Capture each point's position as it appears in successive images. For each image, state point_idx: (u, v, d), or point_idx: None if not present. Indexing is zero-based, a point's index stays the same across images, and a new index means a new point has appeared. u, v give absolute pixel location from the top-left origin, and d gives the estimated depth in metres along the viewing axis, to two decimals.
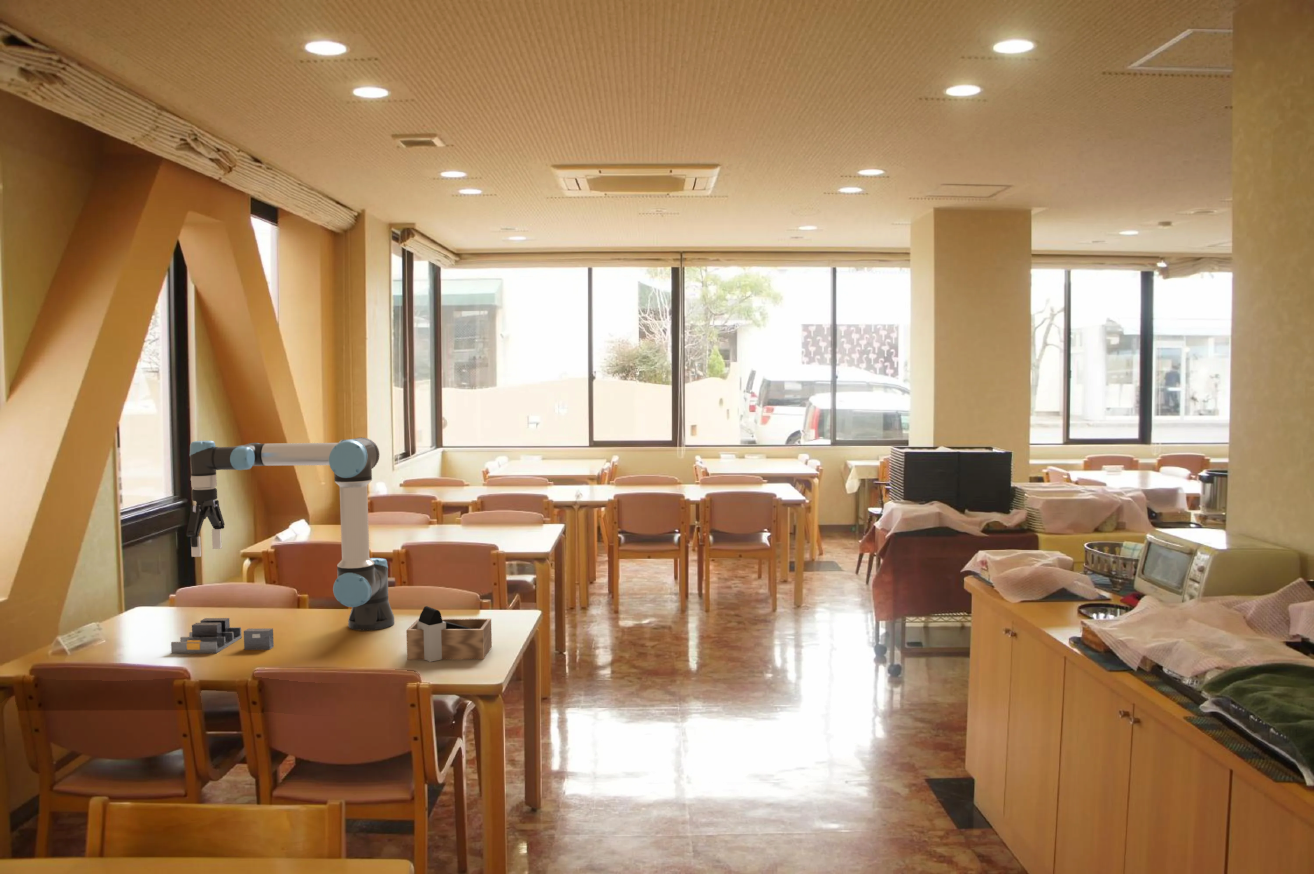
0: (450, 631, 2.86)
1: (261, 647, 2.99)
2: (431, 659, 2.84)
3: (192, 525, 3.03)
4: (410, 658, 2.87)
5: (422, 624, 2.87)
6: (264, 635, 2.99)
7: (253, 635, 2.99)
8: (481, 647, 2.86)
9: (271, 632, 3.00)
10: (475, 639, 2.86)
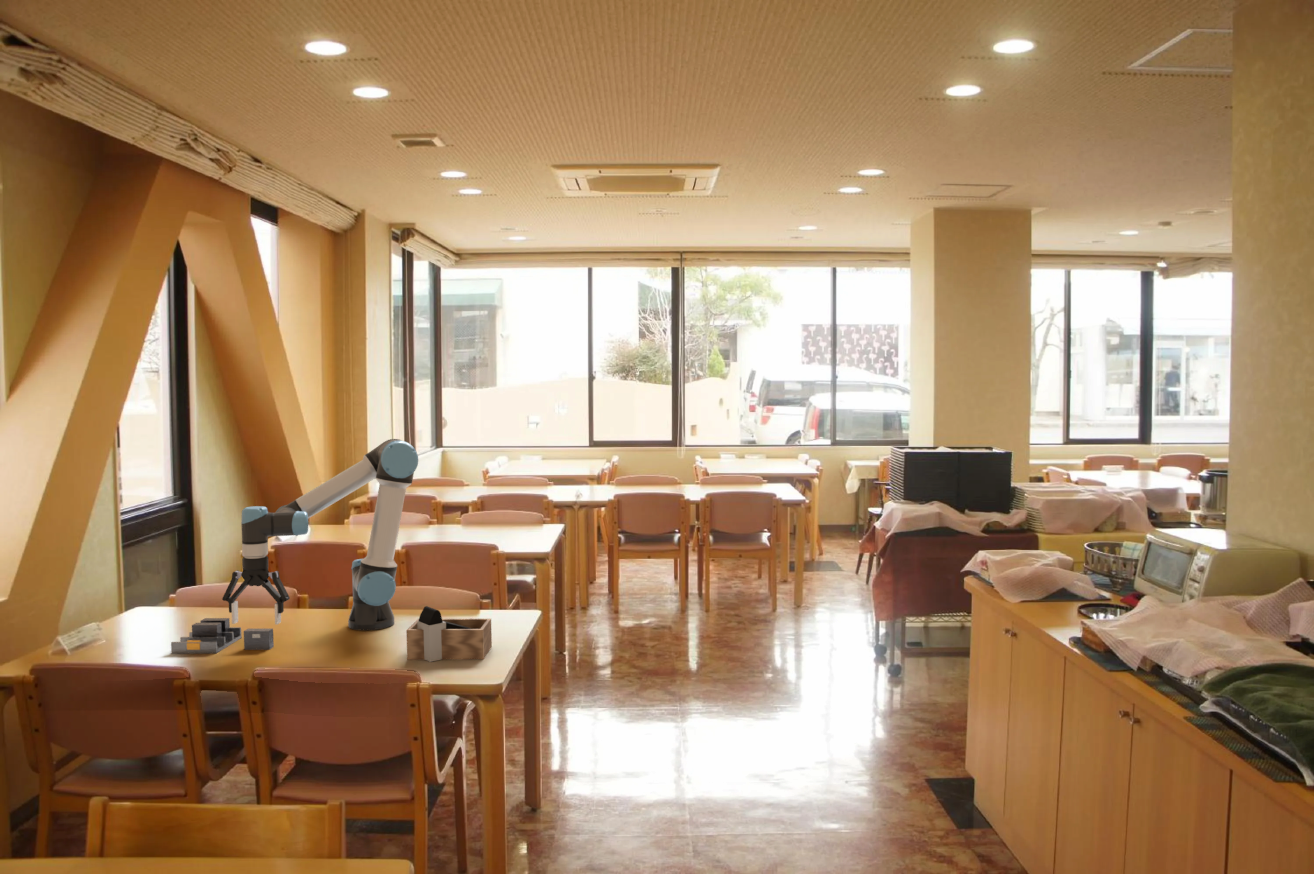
0: (450, 631, 2.86)
1: (261, 647, 2.99)
2: (431, 659, 2.84)
3: None
4: (410, 658, 2.87)
5: (422, 624, 2.87)
6: (264, 635, 2.99)
7: (253, 635, 2.99)
8: (481, 647, 2.86)
9: (271, 632, 3.00)
10: (475, 639, 2.86)
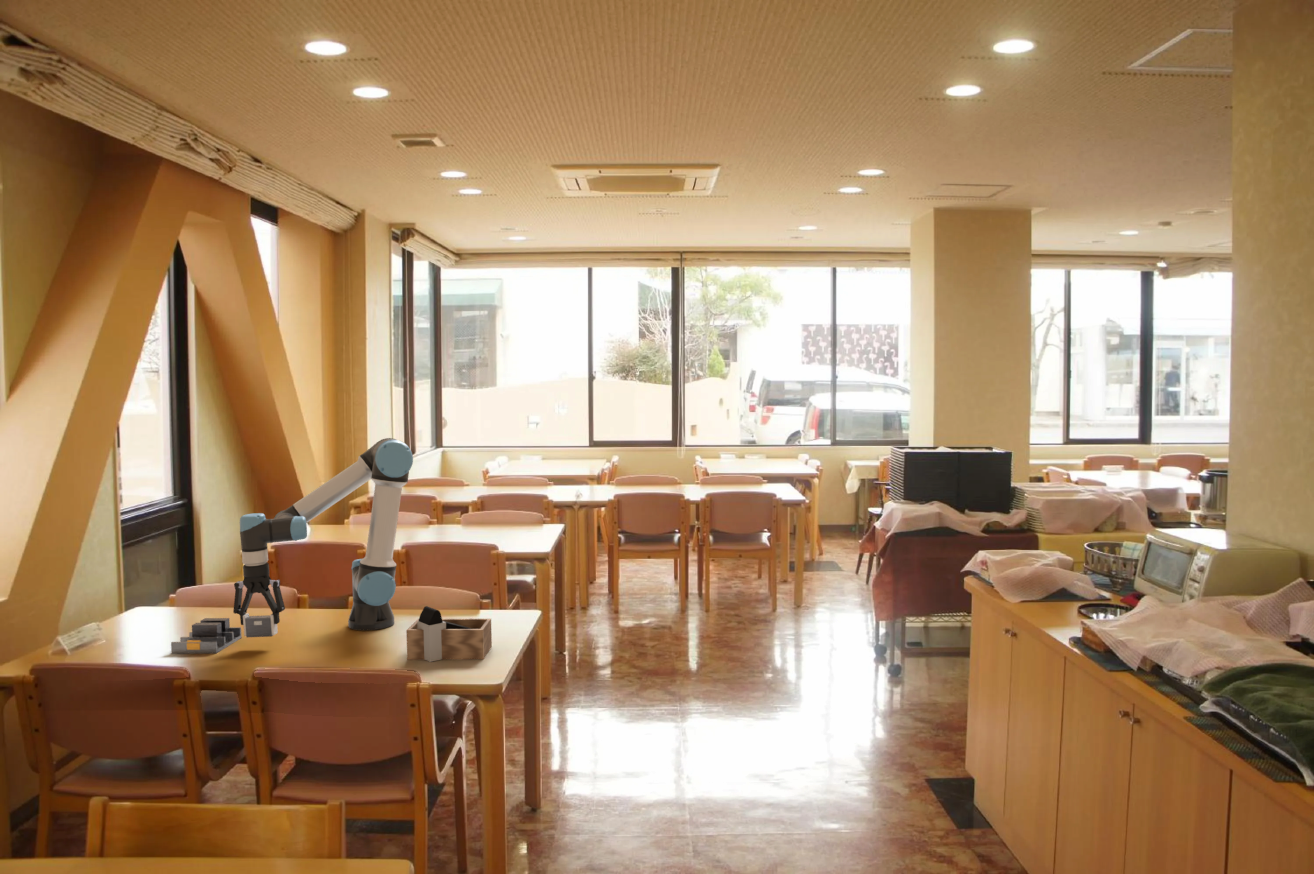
0: (450, 631, 2.86)
1: (263, 634, 2.99)
2: (431, 659, 2.84)
3: None
4: (410, 658, 2.87)
5: (422, 624, 2.87)
6: (265, 622, 2.99)
7: (255, 622, 2.99)
8: (481, 647, 2.86)
9: None
10: (475, 639, 2.86)
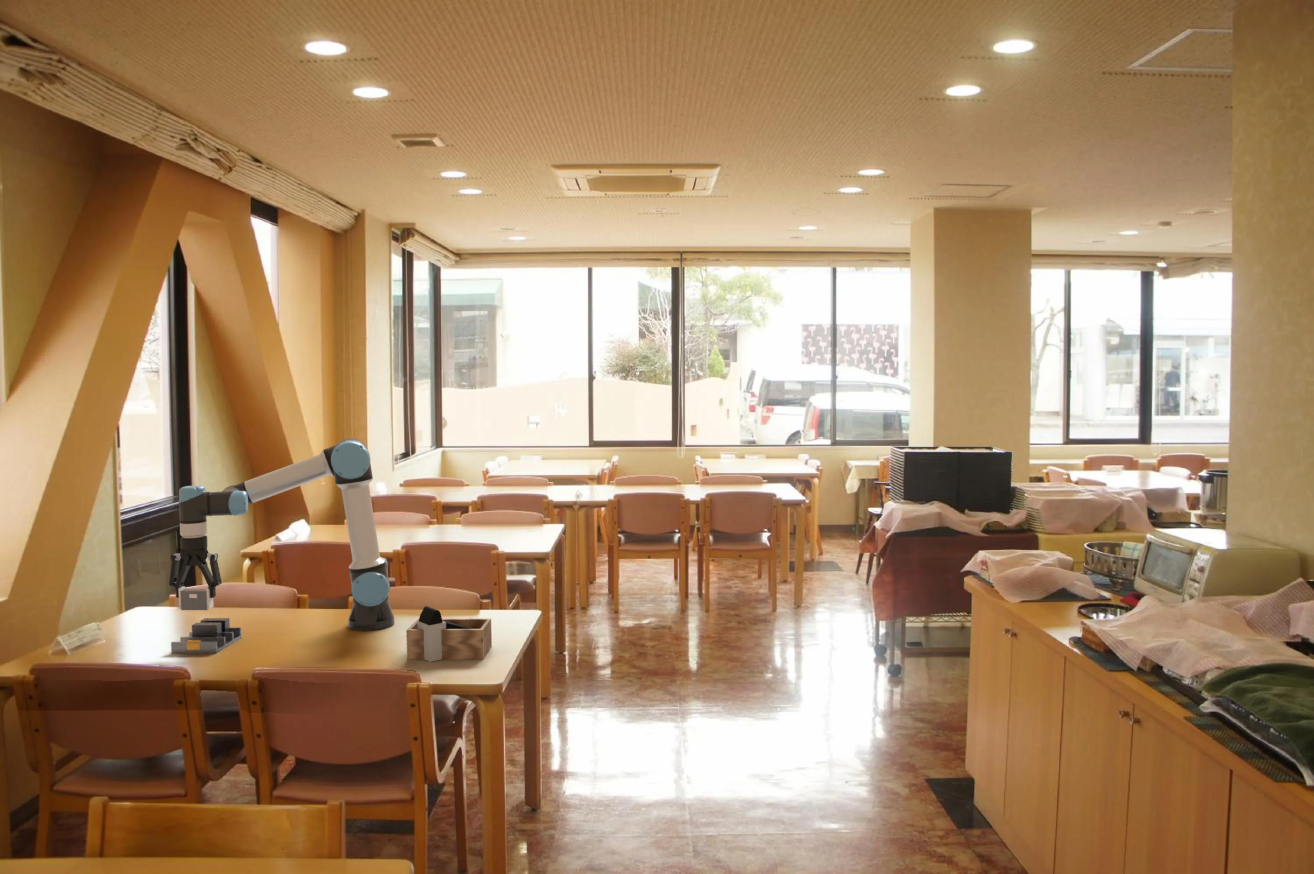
0: (450, 631, 2.86)
1: (198, 608, 2.96)
2: (431, 659, 2.84)
3: None
4: (410, 658, 2.87)
5: (422, 624, 2.87)
6: (201, 595, 2.96)
7: (190, 595, 2.96)
8: (481, 647, 2.86)
9: None
10: (475, 639, 2.86)
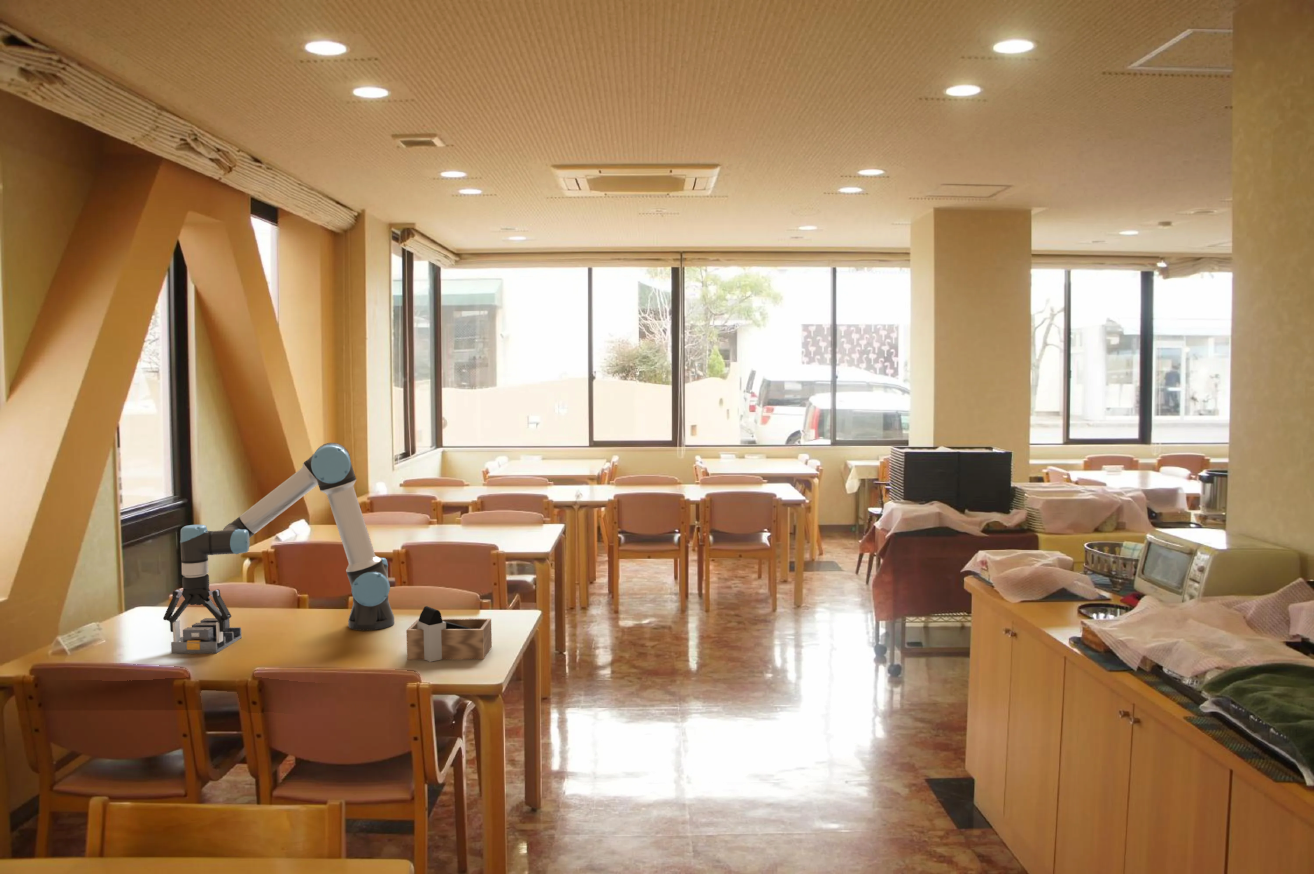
0: (450, 631, 2.86)
1: None
2: (431, 659, 2.84)
3: None
4: (410, 658, 2.87)
5: (422, 624, 2.87)
6: (203, 634, 2.97)
7: (192, 634, 2.97)
8: (481, 647, 2.86)
9: (211, 631, 2.98)
10: (475, 639, 2.86)
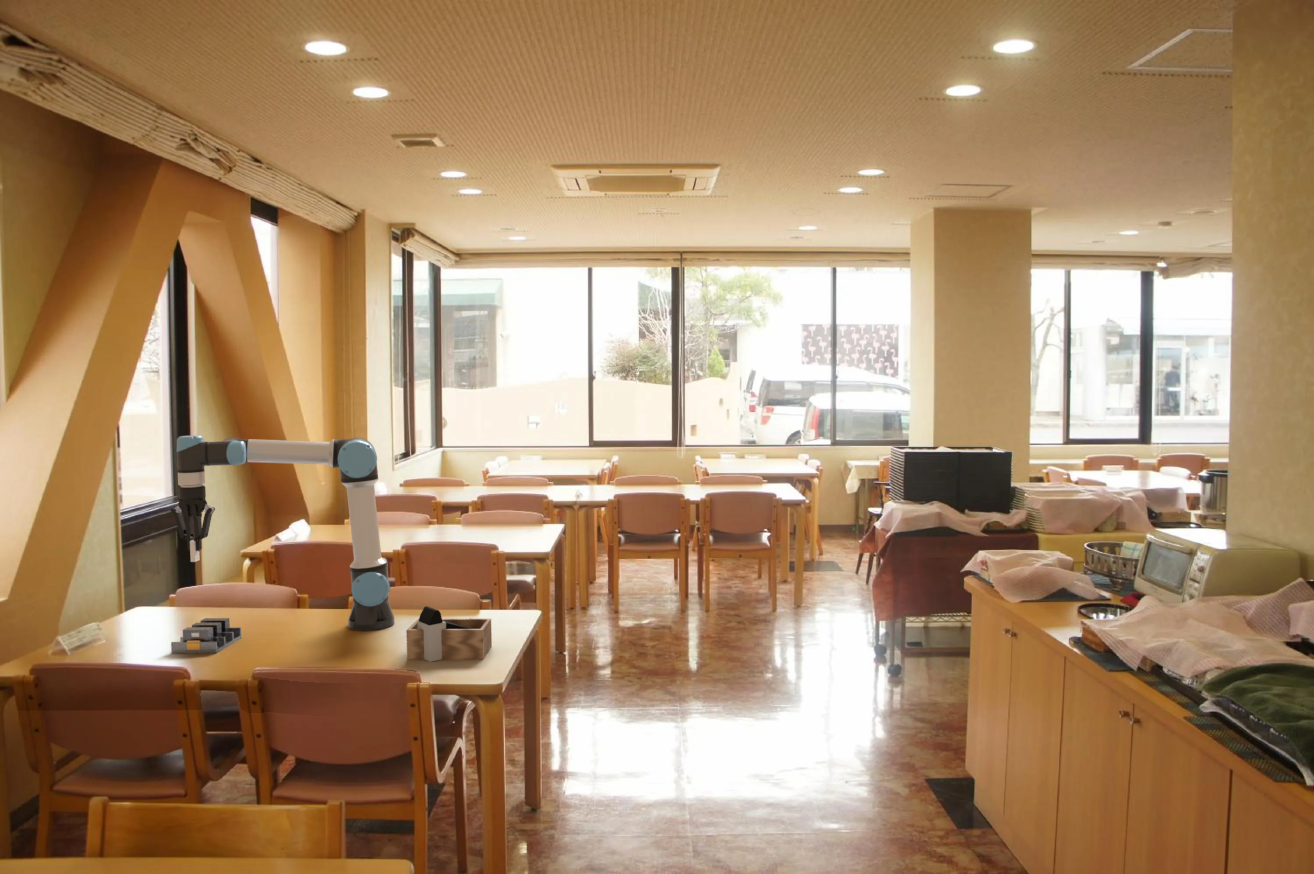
0: (450, 631, 2.86)
1: None
2: (431, 659, 2.84)
3: None
4: (410, 658, 2.87)
5: (422, 624, 2.87)
6: (203, 634, 2.97)
7: (192, 634, 2.97)
8: (481, 647, 2.86)
9: (211, 631, 2.98)
10: (475, 639, 2.86)
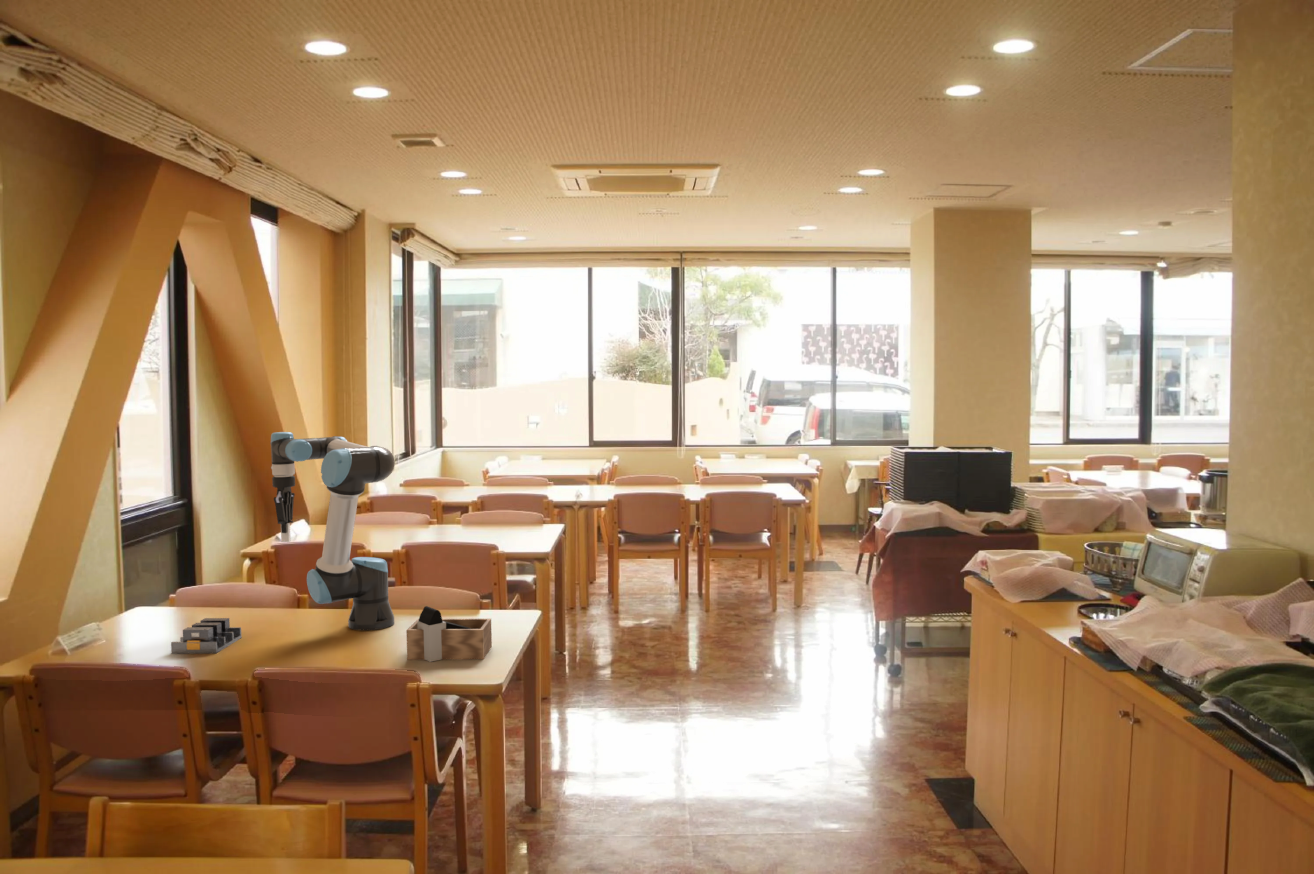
0: (450, 631, 2.86)
1: None
2: (431, 659, 2.84)
3: (280, 514, 3.35)
4: (410, 658, 2.87)
5: (422, 624, 2.87)
6: (203, 634, 2.97)
7: (192, 634, 2.97)
8: (481, 647, 2.86)
9: (211, 631, 2.98)
10: (475, 639, 2.86)
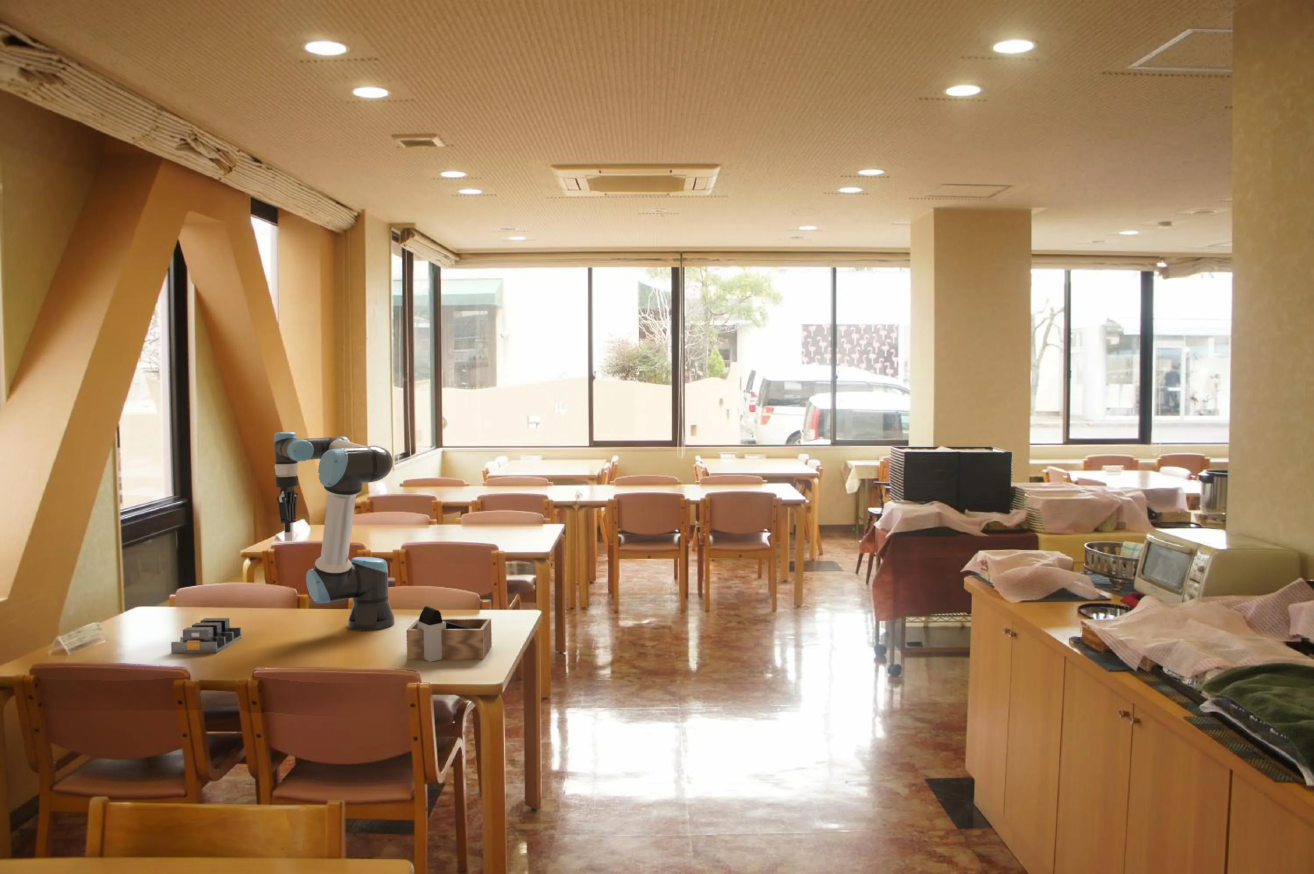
0: (450, 631, 2.86)
1: None
2: (431, 659, 2.84)
3: (284, 514, 3.37)
4: (410, 658, 2.87)
5: (422, 624, 2.87)
6: (203, 634, 2.97)
7: (192, 634, 2.97)
8: (481, 647, 2.86)
9: (211, 631, 2.98)
10: (475, 639, 2.86)
